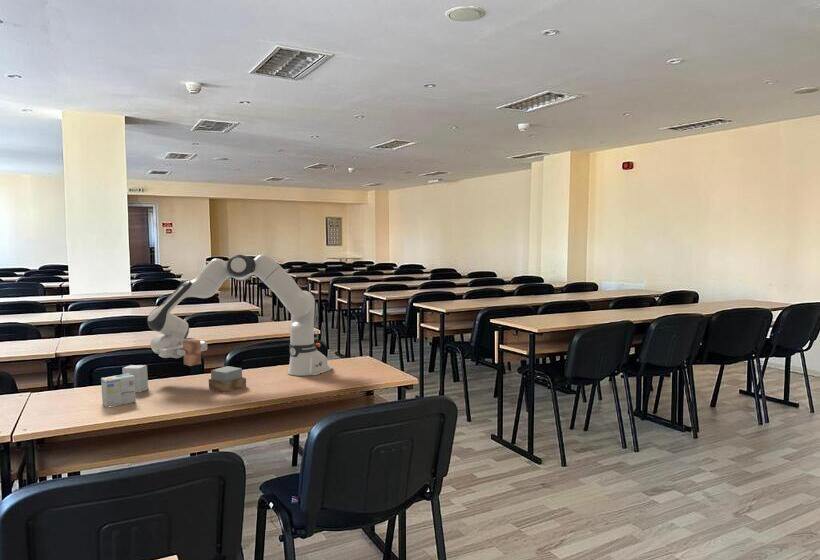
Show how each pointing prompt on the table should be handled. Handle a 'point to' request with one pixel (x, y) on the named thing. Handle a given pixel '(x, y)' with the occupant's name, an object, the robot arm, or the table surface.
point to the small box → (138, 376)
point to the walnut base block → (227, 384)
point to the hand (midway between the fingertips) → (193, 351)
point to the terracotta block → (192, 352)
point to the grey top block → (226, 374)
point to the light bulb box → (118, 390)
